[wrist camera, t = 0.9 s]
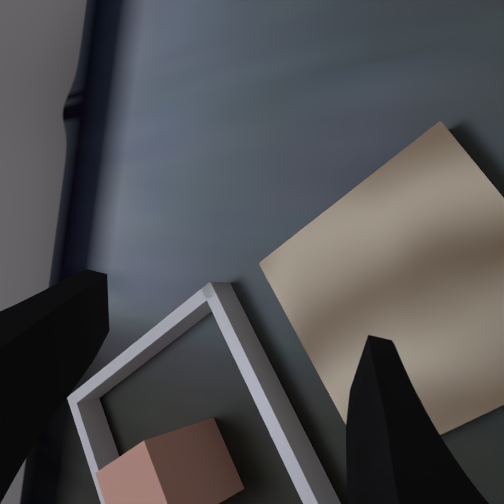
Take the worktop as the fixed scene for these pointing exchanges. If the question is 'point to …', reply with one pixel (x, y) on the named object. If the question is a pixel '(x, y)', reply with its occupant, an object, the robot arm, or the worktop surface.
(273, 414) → the tray
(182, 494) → the terracotta block
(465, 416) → the board
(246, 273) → the worktop surface
